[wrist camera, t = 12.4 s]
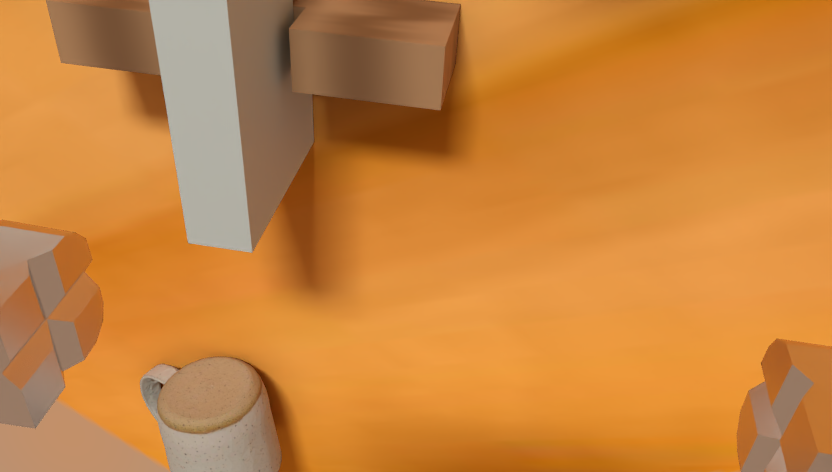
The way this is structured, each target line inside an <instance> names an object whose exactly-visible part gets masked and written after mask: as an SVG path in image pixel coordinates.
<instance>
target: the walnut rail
mask: <svg viewBox="0 0 832 472" xmlns="http://www.w3.org/2000/svg"><path fill="white" fill-rule="evenodd" d="M46 3H47V7H48V11H49V15H50V19H51V23H52V27H53V31H54V35H55V39H56V44H57V48H58V52H59V56H60V60H61V63H66V64H74V65H82V66H90V67H98V68H106V69H114V70H122V71H130V72H138V73H146V74H154V75H161V73H160V67H159V61H158V55H157V48H156V42H155V36H154V30H153V24H152V18H151V12H150V5H149V0H46ZM460 5H461V4H453V3H444V2H435V1H426V0H293V17H294V23H293V24H292V25H291V26H290V28H289V40H290V59H291V77H292V92H298V93H306V94H314V95H322V96H330V97H338V98H346V99H354V100H361V101H369V102H377V103H385V104H393V105H401V106H409V107H417V108H425V109H433V110H441V108H442V104H443V101H444V98H445V95H446V92H447V89H448V86H449V83H450V79H451V76H452V73H453V70H454V67H455V64H456V53H457V41H458V29H459V17H460Z"/></svg>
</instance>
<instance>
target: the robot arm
mask: <svg viewBox="0 0 832 472" xmlns="http://www.w3.org/2000/svg"><path fill="white" fill-rule="evenodd" d="M92 260H93V259H92V256H91V253H90V250H89V247H88V243H87V240H86V238H84V237H83V236H81V235H79V234H77V233H75V232H70V231H64V230H58V229H52V228H47V227H41V226H35V225H30V224H24V223H18V222H13V221H7V220H0V423H3V424H9V425H16V426H22V427H29V428H36V427H37V425H38V424H39V423H40V421H41V420H42V419H43V417H44V415H45V414H46V413H47V411H48V410H49V409H50V407H51V406H52V405H53V403H54V402H55V400H56V399H57V398H58V396H59V395H60V393H61V392H62V391H63V389H64V388H65V381H64V374H63V371H64V370H66V369H68V368H70V367H72V366H74V365H76V364H78V363H79V362H81V361H83V360H85V358H86V357H87V355H88V354H89V352H90V351H91V349H92V348H93V346H94V345H95V343H96V341H97V338H98V335H99V332H100V329H101V326H102V323H103V299H102V295H101V291H100V287H99V286H98V285H97V284H96V283H95V282H94V281H93V280H92V279H91V278H90V277H89V276H88V275H87V274H86V273H85V270H86V269H87V267H88V266H89V264H90V263H91V261H92ZM761 366H762V370H763V374H764V378H765V382H763V383H761V384H759V385H758V386H756V387H754V388H752V389H751V390H749V391H748V393H747V396H746V399H745V401H744V404H743V406H742V409H741V411H740V417H739V424H738V430H737V453H738V458H739V464H740V470H741V472H832V347H831V346H824V345H818V344H811V343H804V342H797V341H790V340H783V339H776V340H775V341H774V342H773V343H772V344H771V345H770V346H769V347H768V349H767V351H766V354H765V356H764V358H763V360H762V362H761Z"/></svg>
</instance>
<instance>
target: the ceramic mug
mask: <svg viewBox="0 0 832 472" xmlns="http://www.w3.org/2000/svg"><path fill="white" fill-rule="evenodd" d="M160 383H162V384H164V385H163V387H162V389H161V386H160ZM140 389H141V393H142V396H143V399H144V401H145V403H146V405H147V407H148V409H149V410H150V412H151V413H152V415H153V416H154V418H155V419H156V420H157V421H158V425H159V429H160V433H161V436H162V439H163V443H164V446H165V450H166V455H167V459H168V463H169V467H170V471H171V472H278V471H279V468H280V465H281V448H280V444H279V440H278V436H277V432H276V428H275V423H274V420H273V416H272V412H271V408H270V403H269V398H268V394H267V390H266V388H265V386H264V384H263V382H262V379H261V377H260V376H259V374H258V373H257V372H256V370H255V369H254V368H253V367H252V366H251V365H249V364H247V363H245V362H244V361H242V360H239V359H235V358H231V357H210V358H205V359H200V360H198V361H195V362H193V363H190V364H188V365H186V366H184V367H183V368H181V369H180V370H179V369H177V368H175V367H173V366H169V365H165V364H159V365H156V366H155V367H154V368H152V369H151V370H150V371H149V372H147V373H146V374H145V375H144V376H143V377H142V379H141V380H140Z"/></svg>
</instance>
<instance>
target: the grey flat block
mask: <svg viewBox="0 0 832 472" xmlns="http://www.w3.org/2000/svg"><path fill="white" fill-rule="evenodd" d="M149 5H150V12H151V18H152V24H153V30H154V36H155V42H156V48H157V55H158V61H159V67H160V73H161V79H162V85H163V91H164V98H165V104H166V110H167V116H168V122H169V128H170V134H171V141H172V147H173V153H174V159H175V165H176V171H177V177H178V183H179V190H180V196H181V202H182V208H183V214H184V220H185V226H186V233H187V239H188V243H191V244H198V245H205V246H211V247H218V248H225V249H231V250H238V251H245V252H251V253H252V252H253V250H254V249H255V247H256V245H257V243H258V241H259V240H260V238H261V236H262V234H263V232H264V231H265V229H266V227H267V225H268V224H269V222H270V220H271V218H272V216H273V215H274V213H275V211H276V209H277V207H278V206H279V204H280V202H281V200H282V198H283V197H284V195H285V193H286V191H287V189H288V188H289V186H290V184H291V182H292V180H293V179H294V177H295V175H296V173H297V172H298V170H299V168H300V166H301V164H302V163H303V161H304V159H305V157H306V155H307V154H308V152H309V150H310V148H311V146H312V145H313V143H314V126H313V99H312V94H306V93H298V92H292V77H291V59H290V40H289V28H290V26H291V25H292V24H293V23H294V17H293V0H149Z"/></svg>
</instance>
